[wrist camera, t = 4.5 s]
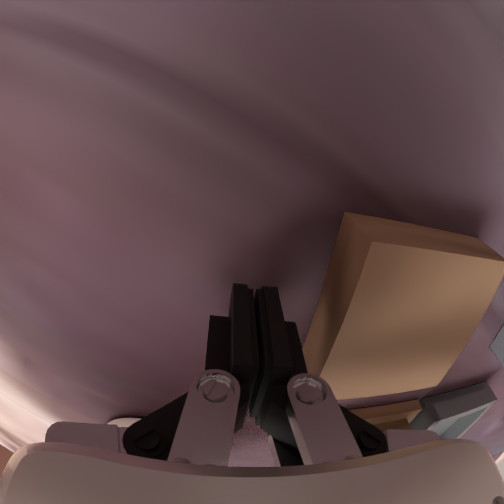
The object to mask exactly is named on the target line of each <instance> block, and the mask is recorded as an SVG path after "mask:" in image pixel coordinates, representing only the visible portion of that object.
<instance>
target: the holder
mask: <svg viewBox="0 0 504 504" xmlns="http://www.w3.org/2000/svg"><path fill="white" fill-rule="evenodd" d="M421 410H422V407H421V405H420V402H419V400H418V399H416V400H411V401H406V402H400V403H394V404H388V405H382V406H375V407H367V408H359V409H350V410H349V411H350V412H352V413H354V414H355V415H357V416H359V417H360V418H362V419H364V420H365V421H367V422H369V423H370V424H372V425H374V426H375V427H377V428H378V429H380V430H381V431H382V432H385V431H386V430H387V429H393V430H411V428H410V425H409V423H410V422H411V421H412V420H413V419H414V418H415V417H416V415H417V414H418V413H419V412H420V411H421Z"/></svg>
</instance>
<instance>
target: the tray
mask: <svg viewBox="0 0 504 504" xmlns="http://www.w3.org/2000/svg"><path fill="white" fill-rule="evenodd" d="M496 400H497V398H496V396H495V395H494V393H493V391H492V390H491V388H490V387H489V385H488V383H487V382H486V381H485V382H482V383H479V384H476V385H472V386H469V387H466V388H462V389H458V390H455V391H451V392H447V393H443V394H439V395H435V396H430V397H426V398H422V399H421V401H420V405H421V407H422V410H421V411H420V412H419V413H418V414H417V415H416V417H415V418H414V419H413V420H412V421H411V422H410V423H409V425H410V428H411V430H431V431H433V432H435V433H437V434H438V436H439V437H440V439H441V440H443V439H459V438H460V437H461V436H462V435H463V434H464V433H465V432H466V431H467V430H468V429H469V428H470V427H471V426H472V425H473V424H474V423H475V422H476V421H477V420H478V419H479V418H480V417H481V416H482V415H483V414H484V413H485V412H486V411H487V410H488V409H489V408H490V407H491V406H492V405H493V403H494V402H495V401H496Z"/></svg>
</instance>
